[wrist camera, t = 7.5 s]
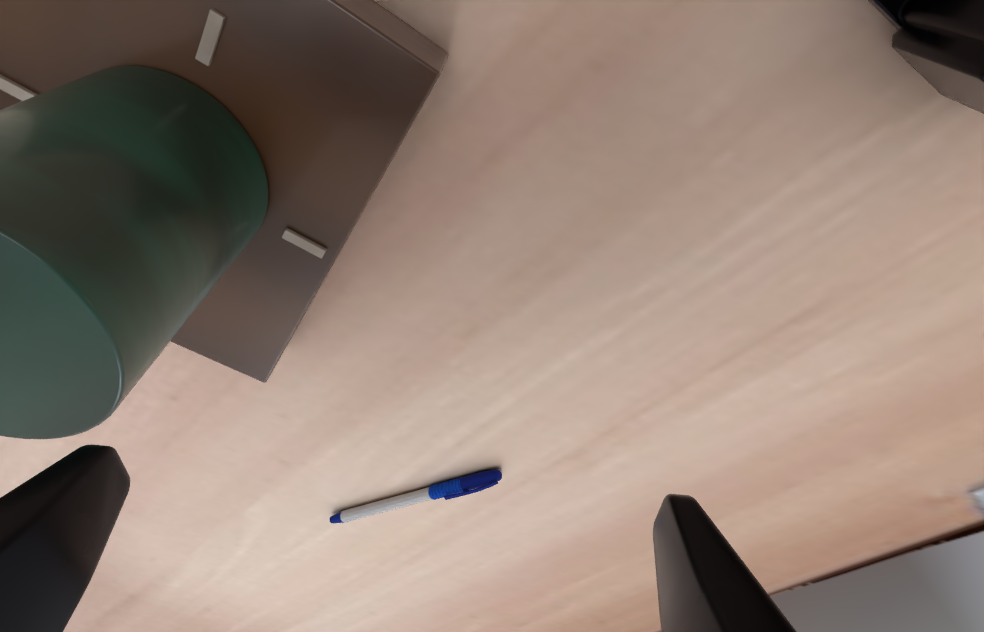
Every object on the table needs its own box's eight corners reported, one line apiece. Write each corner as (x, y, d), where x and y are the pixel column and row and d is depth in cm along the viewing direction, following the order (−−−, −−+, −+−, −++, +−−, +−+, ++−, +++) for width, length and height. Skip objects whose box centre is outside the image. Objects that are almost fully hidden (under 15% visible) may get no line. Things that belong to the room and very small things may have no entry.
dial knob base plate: (66, -215, 14) (-17, -237, 12) (449, 53, 17) (439, 74, 15) (9, 214, 21) (-49, 249, 19) (286, 344, 24) (263, 386, 22)
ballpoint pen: (496, 461, 28) (495, 477, 28) (503, 472, 29) (503, 488, 28) (330, 511, 32) (325, 527, 31) (339, 519, 32) (334, 535, 31)
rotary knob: (308, 212, 18) (181, 401, 11) (171, 281, 19) (-12, 479, 13) (165, 23, 14) (-136, 123, 8) (17, 125, 16) (-332, 278, 10)
